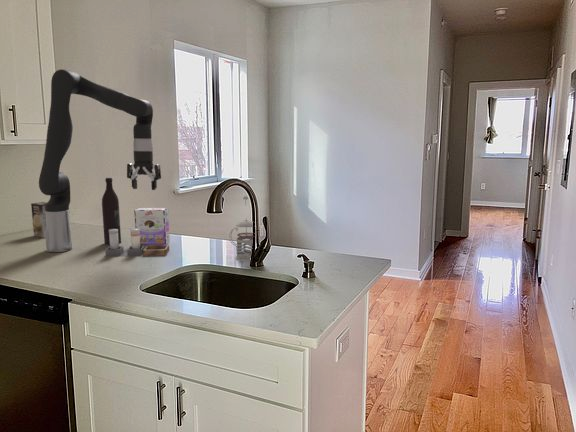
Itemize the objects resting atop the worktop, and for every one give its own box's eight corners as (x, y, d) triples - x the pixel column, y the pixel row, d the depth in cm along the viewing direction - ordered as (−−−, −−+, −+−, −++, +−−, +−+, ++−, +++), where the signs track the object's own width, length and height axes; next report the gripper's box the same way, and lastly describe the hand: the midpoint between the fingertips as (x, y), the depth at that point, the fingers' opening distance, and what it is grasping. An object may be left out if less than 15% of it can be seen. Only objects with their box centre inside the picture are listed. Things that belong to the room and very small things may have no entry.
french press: (255, 261, 192) (254, 198, 188) (226, 260, 195) (225, 197, 190) (261, 255, 202) (260, 194, 198) (234, 254, 204) (233, 194, 200)
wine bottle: (117, 246, 219) (113, 178, 214) (102, 246, 219) (97, 178, 214) (123, 242, 226) (119, 177, 221) (108, 242, 226) (103, 177, 221)
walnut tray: (143, 257, 199) (142, 250, 199) (147, 252, 208) (146, 245, 208) (166, 257, 200) (166, 249, 199) (169, 251, 209) (169, 244, 208)
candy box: (170, 243, 224) (168, 207, 222) (165, 246, 219) (164, 209, 216) (140, 243, 226) (139, 207, 223) (135, 245, 220) (133, 209, 217)
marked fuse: (130, 254, 201) (129, 230, 199) (132, 252, 205) (131, 228, 203) (139, 254, 201) (138, 230, 200) (141, 252, 205) (140, 228, 203)
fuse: (109, 255, 200) (107, 230, 199) (111, 252, 204) (109, 229, 202) (118, 254, 201) (116, 230, 199) (120, 252, 204) (119, 228, 202)
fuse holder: (104, 258, 198) (104, 250, 197) (110, 253, 206) (109, 245, 206) (141, 257, 199) (141, 249, 199) (145, 252, 208) (145, 244, 207)
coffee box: (33, 235, 242) (30, 203, 239) (45, 233, 247) (42, 201, 244) (44, 237, 237) (41, 204, 234) (56, 235, 242) (53, 203, 240)
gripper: (122, 149, 200) (123, 189, 203) (154, 150, 197) (155, 191, 200) (132, 149, 207) (133, 187, 210) (163, 150, 204) (164, 189, 207)
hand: (144, 189), depth 205 cm, fingers open, 8 cm apart
